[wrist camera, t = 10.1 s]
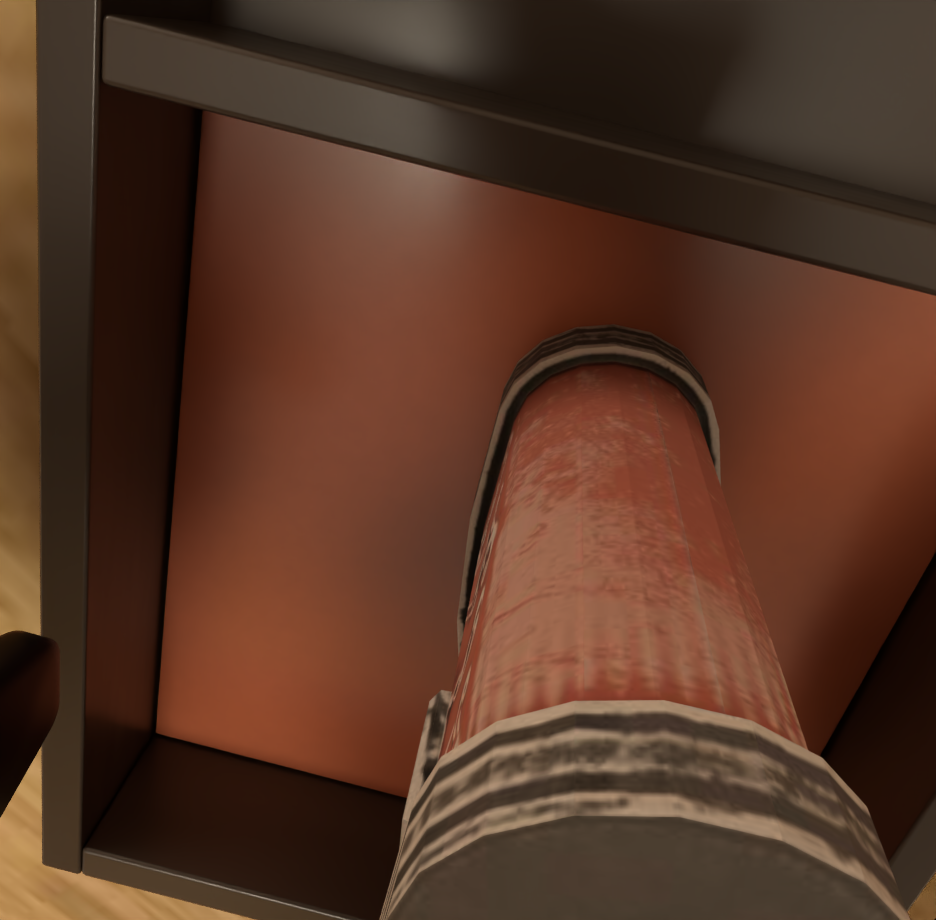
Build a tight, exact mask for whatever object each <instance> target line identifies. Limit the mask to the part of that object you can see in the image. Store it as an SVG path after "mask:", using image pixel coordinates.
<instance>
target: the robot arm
mask: <svg viewBox="0 0 936 920" xmlns="http://www.w3.org/2000/svg"><path fill="white" fill-rule="evenodd" d="M59 702H60V650H59V646H58V644H57V642H56V641H54V640H53V639H51V638H47V637H43V636H39V635H36V634H32V633H28V632H24V631H12V632H8V633H5V634H3V635H1V636H0V817H1V816H2V814H3V812H4V810H5V809H6V807H7V805H8V803H9V802H10V800H11V798H12V796H13V795H14V793H15V791H16V789H17V788H18V786H19V784H20V782H21V781H22V779H23V777H24V775H25V774H26V772H27V770H28V768H29V767H30V765H31V763H32V761H33V760H34V758H35V756H36V754H37V753H38V751H39V749H40V747H41V746H42V744H43V742H44V740H45V739H46V737H47V735H48V733H49V731H50V730H51V728H52V726H53V724H54V721H55V719H56V716H57V713H58V709H59ZM935 920H936V919H935Z"/></svg>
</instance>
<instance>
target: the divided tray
mask: <svg viewBox="0 0 936 920" xmlns="http://www.w3.org/2000/svg"><path fill="white" fill-rule="evenodd" d="M36 52H37V190H38V327H39V464H40V601H41V636H43V637H47V638H51V639H53V640H54V641H56V642H57V644H58V646H59V650H60V702H59V709H58V713H57V716H56V719H55V721H54V724H53V726H52V728H51V730H50V731H49V733H48V735H47V737H46V739H45V740H44V742H43V744H42V863H43V864H44V865H46V866H49V867H53V868H57V869H61V870H65V871H69V872H72V873H76V874H79V873H80V872H81V871H82V872H83V874H85V875H87V876H91V877H94V878H98V879H102V880H106V881H110V882H114V883H117V884H121V885H125V886H129V887H133V888H137V889H141V890H144V891H148V892H152V893H156V894H160V895H164V896H167V897H171V898H175V899H179V900H183V901H187V902H191V903H194V904H198V905H202V906H206V907H210V908H214V909H217V910H221V911H225V912H229V913H233V914H237V915H241V916H244V917H248V918H252V919H256V920H380V916H381V913H382V909H383V906H384V902H385V899H386V895H387V892H388V888H389V885H390V881H391V878H392V874H393V871H394V867H395V864H396V860H397V857H398V853H399V847H400V838H401V828H402V819H403V814H404V810H405V806H406V801H407V797H408V793H409V788H410V784H411V779H412V775H413V771H414V766H415V762H416V758H417V753H418V749H419V745H420V740H421V736H422V731H423V727H424V723H425V718H426V714H427V710H428V705H429V701H430V700H431V699H432V698H433V697H434V696H435V695H436V694H437V693H438V692H439V691H440V690H444V691H451V692H452V688H453V683H454V678H455V673H456V668H457V663H458V657H459V656H458V634H457V616H458V609H459V601H460V593H461V585H462V577H463V569H464V562H465V554H466V546H467V538H468V530H469V522H470V517H471V512H472V508H473V504H474V499H475V495H476V491H477V487H478V483H479V479H480V476H481V472H482V468H483V465H484V461H485V457H486V453H487V450H488V446H489V442H490V439H491V435H492V431H493V428H494V424H495V420H496V416H497V413H498V409H499V405H500V402H501V398H502V394H503V391H504V387H505V385H506V383H507V381H508V379H509V377H510V375H511V374H512V372H513V370H514V368H515V366H516V364H517V362H518V361H519V360H520V359H521V358H522V357H524V356H525V355H526V354H527V353H528V352H530V351H531V350H532V349H533V348H534V347H536V346H537V345H538V344H539V343H540V342H541V341H543V340H545V339H547V338H550V337H552V336H555V335H557V334H560V333H563V332H565V331H568V330H570V329H573V328H575V327H585V326H598V325H612V324H615V325H619V326H624V327H628V328H633V329H637V330H642V331H646V332H651V333H652V334H654V335H656V336H657V337H659V338H661V339H663V340H664V341H666V342H668V343H669V344H671V345H673V346H675V347H676V348H678V349H680V350H681V351H682V352H683V353H684V355H685V356H686V357H687V358H688V360H689V361H690V362H691V363H692V364H693V366H694V367H695V368H696V369H697V371H698V372H699V373H700V374H701V376H702V378H703V381H704V384H705V386H706V389H707V391H708V394H709V397H710V399H711V402H712V406H713V410H714V413H715V417H716V420H717V424H718V428H719V442H720V475H721V488H722V491H723V494H724V497H725V500H726V503H727V507H728V510H729V513H730V516H731V519H732V522H733V525H734V528H735V531H736V534H737V537H738V540H739V543H740V546H741V549H742V552H743V555H744V558H745V561H746V564H747V567H748V570H749V573H750V576H751V579H752V582H753V585H754V588H755V591H756V594H757V597H758V600H759V603H760V606H761V609H762V612H763V615H764V618H765V621H766V625H767V628H768V631H769V634H770V637H771V640H772V643H773V646H774V649H775V652H776V655H777V658H778V661H779V664H780V667H781V670H782V673H783V676H784V679H785V682H786V685H787V688H788V691H789V694H790V697H791V700H792V703H793V706H794V709H795V712H796V715H797V718H798V721H799V724H800V727H801V730H802V733H803V736H804V739H805V743H806V746H807V749H808V751H810V752H812V753H814V754H816V755H818V756H820V757H822V758H823V759H824V760H825V761H826V762H827V763H828V765H829V766H830V767H831V768H832V769H833V770H834V771H835V772H836V773H837V774H838V776H839V777H840V778H841V779H842V780H843V781H844V782H845V783H846V784H847V785H848V787H849V788H850V789H851V790H852V791H853V792H854V793H855V794H856V795H857V796H858V797H859V799H860V800H861V801H862V802H863V803H864V804H865V805H866V806H867V808H868V811H869V814H870V816H871V819H872V821H873V824H874V827H875V829H876V832H877V834H878V837H879V840H880V842H881V845H882V847H883V850H884V853H885V855H886V858H887V860H888V863H889V866H890V868H891V871H892V873H893V876H894V879H895V881H896V884H897V886H898V889H899V892H900V894H901V897H902V899H903V902H904V905H905V907H906V910H907V911H908V910H909V909H910V907H911V906H912V904H913V903H914V902H915V900H916V899H917V897H918V896H919V895H920V893H921V892H922V890H923V889H924V888H925V886H926V885H927V883H928V882H929V881H930V879H931V878H932V876H933V875H934V874H935V872H936V0H36Z"/></svg>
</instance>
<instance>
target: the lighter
mask: <svg viewBox="0 0 936 920" xmlns="http://www.w3.org/2000/svg"><path fill="white" fill-rule="evenodd" d="M457 634H458V656H459V657H458V663H457V668H456V673H455V678H454V683H453V688H452V692H451V691H444V690H440V691H439V692H438V693H437V694H436V695H435V696H434V697H433V698H432V699H431V700H430V701H429V705H428V710H427V714H426V718H425V723H424V727H423V731H422V736H421V740H420V745H419V749H418V753H417V758H416V762H415V766H414V771H413V775H412V779H411V784H410V788H409V793H408V797H407V801H406V806H405V810H404V814H403V819H402V828H401V838H400V847H399V853H398V857H397V860H396V864H395V867H394V871H393V874H392V878H391V881H390V885H389V888H388V892H387V895H386V899H385V902H384V906H383V909H382V913H381V916H380V920H910V918H909V915H908V913H907V910H906V907H905V905H904V902H903V899H902V897H901V894H900V892H899V889H898V886H897V884H896V881H895V879H894V876H893V873H892V871H891V868H890V866H889V863H888V860H887V858H886V855H885V853H884V850H883V847H882V845H881V842H880V840H879V837H878V834H877V832H876V829H875V827H874V824H873V821H872V819H871V816H870V814H869V811H868V808H867V806H866V805H865V804H864V803H863V802H862V801H861V800H860V799H859V797H858V796H857V795H856V794H855V793H854V792H853V791H852V790H851V789H850V788H849V787H848V785H847V784H846V783H845V782H844V781H843V780H842V779H841V778H840V777H839V776H838V774H837V773H836V772H835V771H834V770H833V769H832V768H831V767H830V766H829V765H828V763H827V762H826V761H825V760H824V759H823V758H822V757H820V756H818V755H816V754H814V753H812V752H810V751H808V749H807V746H806V743H805V739H804V736H803V733H802V730H801V727H800V724H799V721H798V718H797V715H796V712H795V709H794V706H793V703H792V700H791V697H790V694H789V691H788V688H787V685H786V682H785V679H784V676H783V673H782V670H781V667H780V664H779V661H778V658H777V655H776V652H775V649H774V646H773V643H772V640H771V637H770V634H769V631H768V628H767V625H766V621H765V618H764V615H763V612H762V609H761V606H760V603H759V600H758V597H757V594H756V591H755V588H754V585H753V582H752V579H751V576H750V573H749V570H748V567H747V564H746V561H745V558H744V555H743V552H742V549H741V546H740V543H739V540H738V537H737V534H736V531H735V528H734V525H733V522H732V519H731V516H730V513H729V510H728V507H727V503H726V500H725V497H724V494H723V491H722V488H721V475H720V442H719V428H718V424H717V420H716V417H715V413H714V410H713V406H712V402H711V399H710V397H709V394H708V391H707V389H706V386H705V384H704V381H703V378H702V376H701V374H700V373H699V372H698V371H697V369H696V368H695V367H694V366H693V364H692V363H691V362H690V361H689V360H688V358H687V357H686V356H685V355H684V353H683V352H682V351H681V350H680V349H678V348H676V347H675V346H673V345H671V344H669V343H668V342H666V341H664V340H663V339H661V338H659V337H657V336H656V335H654V334H652V333H651V332H646V331H642V330H637V329H633V328H628V327H624V326H619V325H615V324H612V325H598V326H585V327H575V328H573V329H570V330H568V331H565V332H563V333H560V334H557V335H555V336H552V337H550V338H547V339H545V340H543V341H541V342H540V343H539V344H538V345H537V346H536V347H534V348H533V349H532V350H531V351H530V352H528V353H527V354H526V355H525V356H524V357H522V358H521V359H520V360H519V361H518V362H517V364H516V366H515V368H514V370H513V372H512V374H511V375H510V377H509V379H508V381H507V383H506V385H505V387H504V391H503V394H502V398H501V402H500V405H499V409H498V413H497V416H496V420H495V424H494V428H493V431H492V435H491V439H490V442H489V446H488V450H487V453H486V457H485V461H484V465H483V468H482V472H481V476H480V479H479V483H478V487H477V491H476V495H475V499H474V504H473V508H472V512H471V517H470V522H469V530H468V538H467V546H466V554H465V562H464V569H463V577H462V585H461V593H460V601H459V609H458V616H457Z"/></svg>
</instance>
